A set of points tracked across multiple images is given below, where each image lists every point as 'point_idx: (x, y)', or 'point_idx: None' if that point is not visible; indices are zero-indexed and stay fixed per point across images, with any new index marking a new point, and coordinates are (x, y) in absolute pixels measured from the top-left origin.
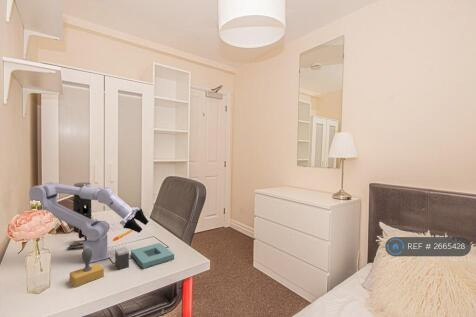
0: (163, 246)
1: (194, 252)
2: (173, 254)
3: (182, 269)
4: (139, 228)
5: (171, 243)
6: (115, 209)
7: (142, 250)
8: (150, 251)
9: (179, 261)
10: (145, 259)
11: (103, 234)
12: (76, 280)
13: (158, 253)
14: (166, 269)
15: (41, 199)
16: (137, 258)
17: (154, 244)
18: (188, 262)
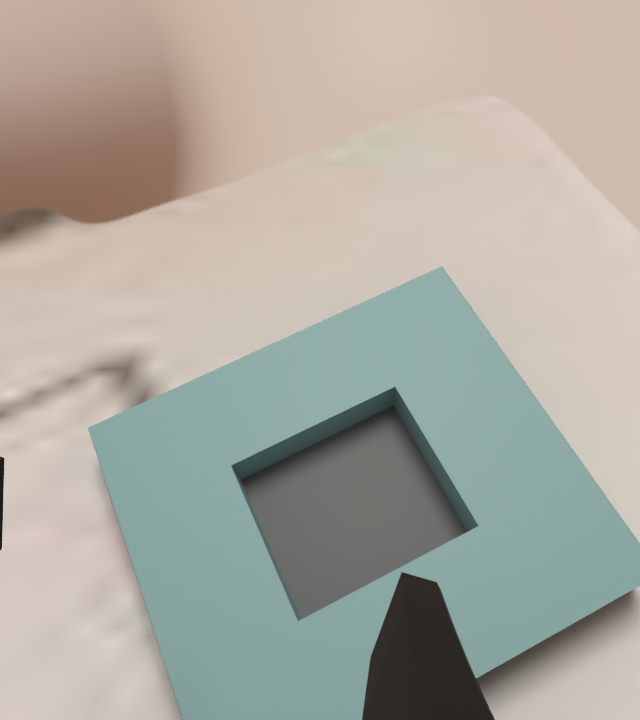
0: (216, 379)
1: (322, 150)
2: (446, 273)
3: (634, 231)
4: (454, 650)
5: (44, 335)
6: None
7: (271, 631)
8: (261, 531)
9: (482, 255)
10: (549, 556)
11: None
12: None
13: (315, 439)
14: (633, 352)
15: None
16: (482, 674)
17: (118, 489)
18: (509, 191)
